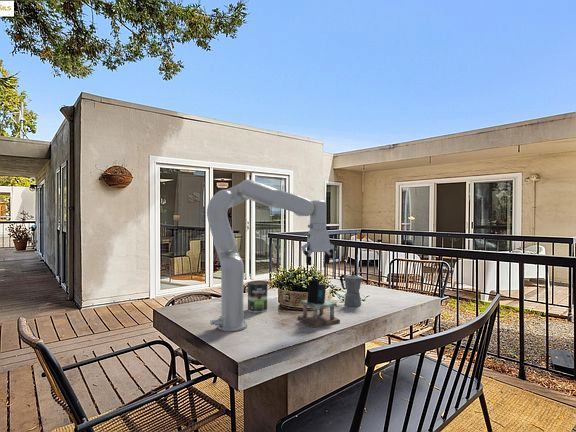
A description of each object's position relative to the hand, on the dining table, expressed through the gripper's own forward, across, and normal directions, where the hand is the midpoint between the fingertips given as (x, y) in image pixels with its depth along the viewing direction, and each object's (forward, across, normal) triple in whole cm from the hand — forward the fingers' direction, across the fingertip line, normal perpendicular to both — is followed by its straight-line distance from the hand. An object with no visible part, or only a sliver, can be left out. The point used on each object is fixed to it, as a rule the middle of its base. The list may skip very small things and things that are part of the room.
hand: (317, 264), depth 158 cm
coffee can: (+26, -18, +30) cm, 44 cm away
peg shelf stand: (+26, 0, 0) cm, 26 cm away
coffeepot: (+26, +32, +17) cm, 45 cm away
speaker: (+18, 0, 0) cm, 18 cm away
